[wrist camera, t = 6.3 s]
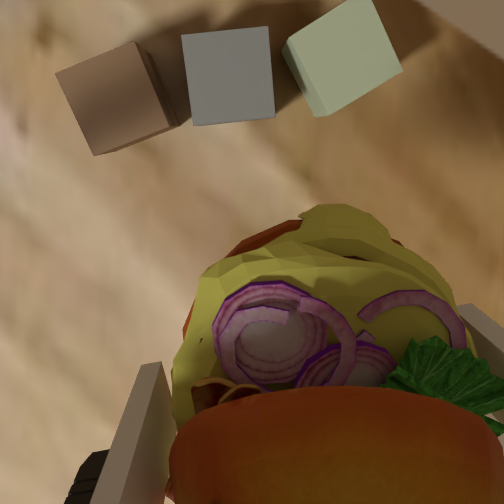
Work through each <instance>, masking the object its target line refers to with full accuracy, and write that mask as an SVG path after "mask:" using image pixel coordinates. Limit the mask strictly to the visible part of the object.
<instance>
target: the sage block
mask: <svg viewBox="0 0 504 504" xmlns="http://www.w3.org/2000/svg"><path fill="white" fill-rule="evenodd" d="M281 53H282V55H283V57H284V59H285V61H286V63H287V65H288V67H289V69H290V71H291V72H292V74H293V76H294V78H295V80H296V82H297V84H298V86H299V88H300V90H301V92H302V94H303V95H304V97H305V99H306V101H307V103H308V105H309V107H310V109H311V111H312V113H313V115H314V117H321V116H329V115H331V114H333V113H334V112H336V111H338V110H339V109H341V108H343V107H344V106H346V105H347V104H349V103H351V102H352V101H354V100H356V99H357V98H359V97H361V96H362V95H364V94H366V93H367V92H369V91H371V90H372V89H374V88H376V87H377V86H379V85H381V84H382V83H384V82H385V81H387V80H389V79H390V78H392V77H394V76H395V75H397V74H399V73H400V72H402V71H403V69H402V67H401V65H400V62H399V60H398V58H397V56H396V53H395V51H394V49H393V47H392V45H391V42H390V40H389V38H388V36H387V33H386V31H385V29H384V27H383V24H382V22H381V20H380V18H379V15H378V13H377V11H376V9H375V6H374V4H373V2H372V0H347V1H345V2H344V3H342V4H340V5H339V6H337V7H336V8H334V9H333V10H331V11H329V12H328V13H326V14H325V15H323V16H322V17H320V18H318V19H317V20H315V21H314V22H312V23H311V24H309V25H307V26H306V27H304V28H303V29H301V30H300V31H298V32H296V33H295V34H293V35H292V36H290V37H289V38H288V40H287V41H286V43H285V45H284V46H283V48H282V50H281Z"/></svg>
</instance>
